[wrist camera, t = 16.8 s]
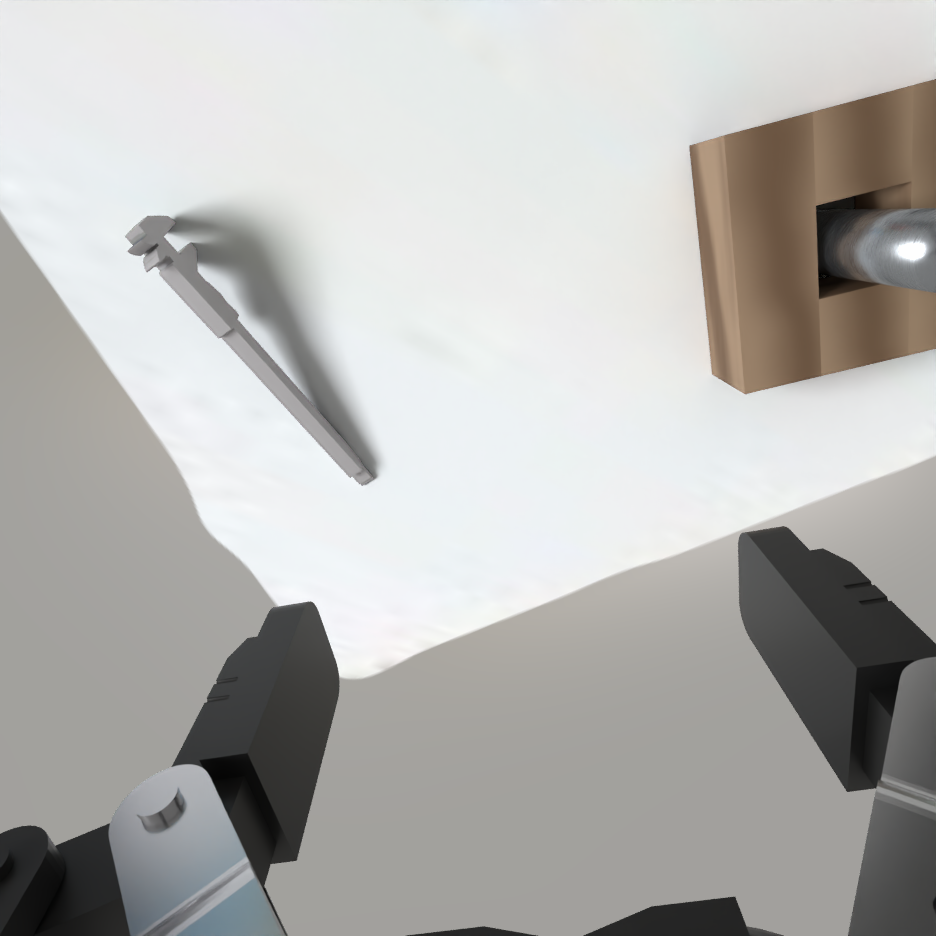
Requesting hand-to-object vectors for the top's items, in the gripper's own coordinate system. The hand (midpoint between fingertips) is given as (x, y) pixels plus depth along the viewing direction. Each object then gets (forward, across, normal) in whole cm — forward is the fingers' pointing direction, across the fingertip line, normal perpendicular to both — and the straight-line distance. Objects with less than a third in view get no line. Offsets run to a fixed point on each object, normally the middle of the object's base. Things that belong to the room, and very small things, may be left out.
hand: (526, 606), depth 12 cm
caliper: (+31, +14, 0) cm, 34 cm away
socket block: (+31, -21, -1) cm, 38 cm away
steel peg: (+31, -21, 0) cm, 38 cm away
